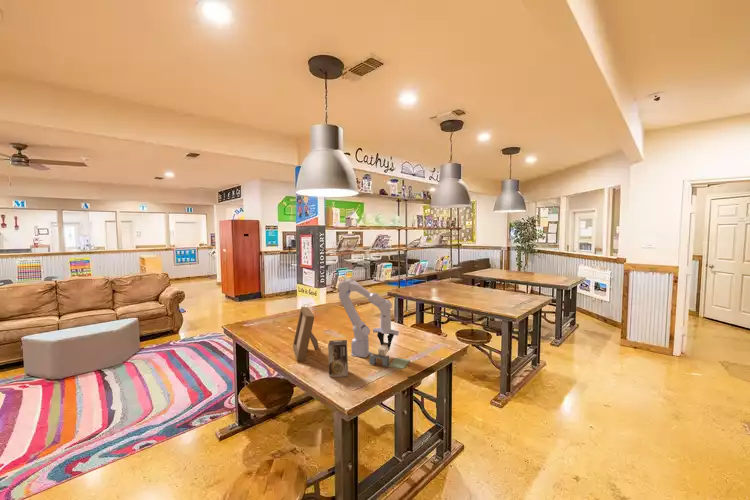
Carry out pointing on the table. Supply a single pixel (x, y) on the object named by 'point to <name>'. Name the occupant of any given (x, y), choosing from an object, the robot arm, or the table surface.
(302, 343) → the photo frame
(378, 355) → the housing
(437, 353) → the table surface
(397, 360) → the mat
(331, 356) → the coffee box
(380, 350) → the plug
